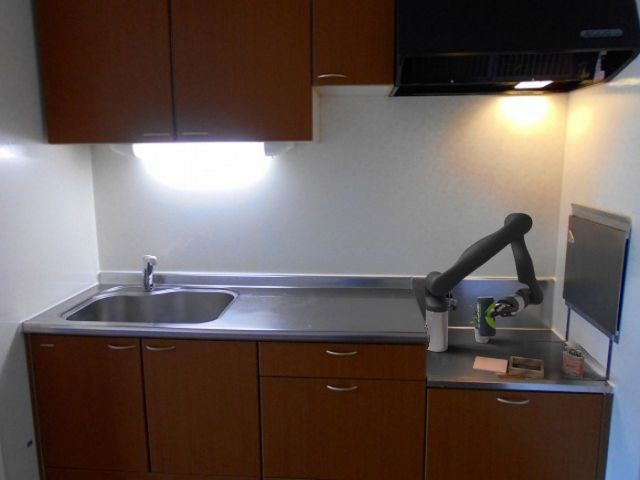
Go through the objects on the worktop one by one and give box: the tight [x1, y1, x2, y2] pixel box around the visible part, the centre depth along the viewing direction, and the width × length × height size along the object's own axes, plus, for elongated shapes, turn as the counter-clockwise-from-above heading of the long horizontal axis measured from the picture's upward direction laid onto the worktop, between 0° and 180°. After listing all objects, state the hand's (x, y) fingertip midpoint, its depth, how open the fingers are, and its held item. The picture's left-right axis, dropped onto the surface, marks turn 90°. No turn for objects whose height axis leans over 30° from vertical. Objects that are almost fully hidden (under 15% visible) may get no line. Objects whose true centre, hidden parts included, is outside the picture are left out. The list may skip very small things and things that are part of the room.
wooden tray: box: [508, 355, 545, 380], centre depth 190 cm, size 12×12×2 cm
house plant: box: [468, 305, 490, 344], centre depth 220 cm, size 14×14×16 cm
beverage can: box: [477, 296, 497, 338], centre depth 193 cm, size 6×6×15 cm
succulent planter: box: [561, 345, 585, 378], centre depth 186 cm, size 8×3×10 cm, turn 29°
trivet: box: [472, 355, 509, 375], centre depth 195 cm, size 12×12×1 cm
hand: (488, 315), depth 189 cm, fingers closed on beverage can, 1 cm apart
